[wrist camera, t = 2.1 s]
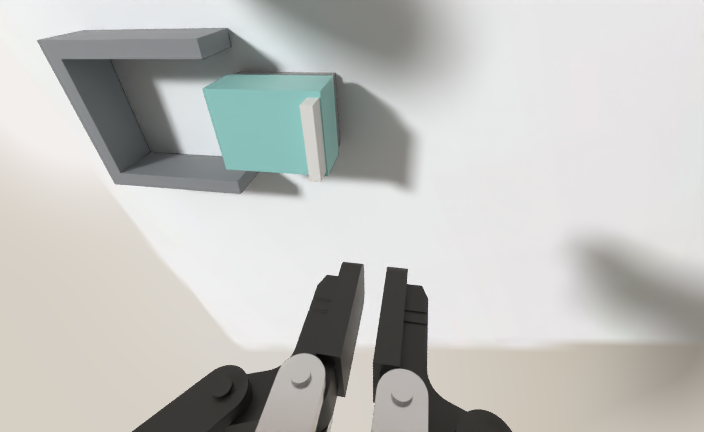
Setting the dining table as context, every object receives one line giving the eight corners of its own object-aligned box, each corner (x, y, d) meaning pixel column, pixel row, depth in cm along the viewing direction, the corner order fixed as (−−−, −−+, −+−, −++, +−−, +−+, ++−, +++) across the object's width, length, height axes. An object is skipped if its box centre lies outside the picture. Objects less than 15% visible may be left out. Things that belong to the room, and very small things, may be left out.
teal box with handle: (338, 69, 25) (313, 98, 19) (342, 145, 28) (322, 186, 23) (236, 68, 26) (189, 96, 21) (253, 141, 30) (216, 179, 24)
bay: (227, 28, 24) (196, 38, 21) (260, 170, 31) (240, 193, 28) (83, 30, 26) (36, 40, 23) (144, 162, 33) (115, 184, 30)
